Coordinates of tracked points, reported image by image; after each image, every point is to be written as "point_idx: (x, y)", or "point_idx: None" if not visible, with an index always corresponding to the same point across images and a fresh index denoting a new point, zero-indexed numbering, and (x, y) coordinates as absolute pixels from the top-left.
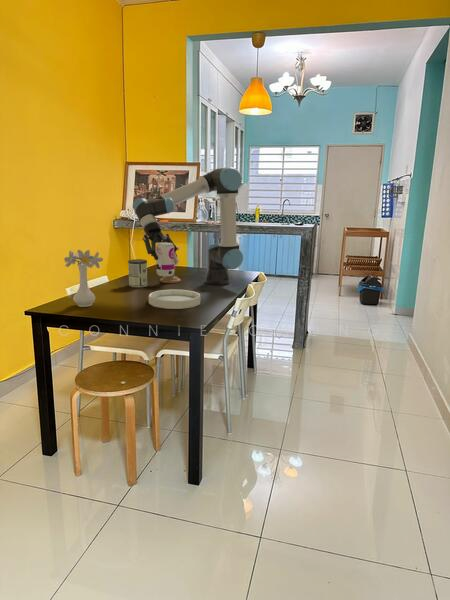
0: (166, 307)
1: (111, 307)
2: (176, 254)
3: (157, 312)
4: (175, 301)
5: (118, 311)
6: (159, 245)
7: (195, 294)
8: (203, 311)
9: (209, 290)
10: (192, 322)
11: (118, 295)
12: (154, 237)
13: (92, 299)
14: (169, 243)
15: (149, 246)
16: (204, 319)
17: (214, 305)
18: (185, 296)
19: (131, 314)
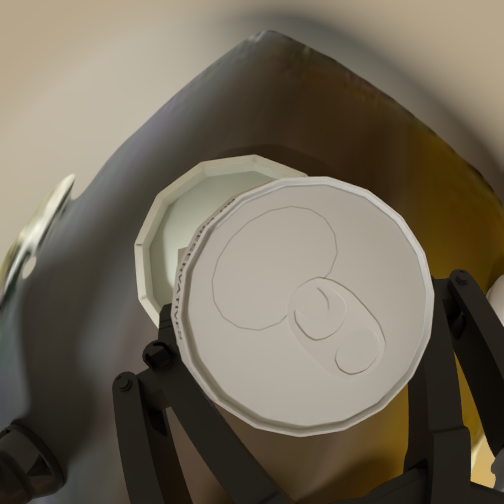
0: None
1: (450, 259)
2: (159, 325)
3: (338, 153)
4: (272, 161)
5: (437, 207)
6: (414, 246)
7: (146, 269)
8: (197, 121)
9: (66, 386)
10: (269, 56)
11: (401, 417)
12: (459, 481)
13: (497, 281)
14: (229, 329)
15: (486, 314)
16: (231, 65)
17: (131, 176)
18: None
19: (408, 163)
